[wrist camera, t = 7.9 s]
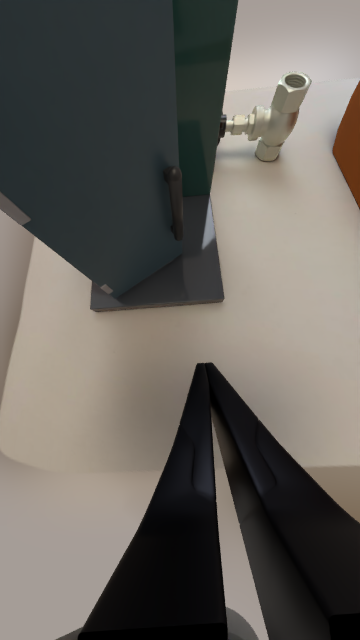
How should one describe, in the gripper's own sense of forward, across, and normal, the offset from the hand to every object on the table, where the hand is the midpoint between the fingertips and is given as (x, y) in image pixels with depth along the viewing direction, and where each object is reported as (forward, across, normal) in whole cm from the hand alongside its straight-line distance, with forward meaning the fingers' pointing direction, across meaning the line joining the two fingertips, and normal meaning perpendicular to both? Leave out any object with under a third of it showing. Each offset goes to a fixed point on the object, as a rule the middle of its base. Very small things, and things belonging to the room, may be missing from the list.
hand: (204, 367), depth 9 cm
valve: (+29, -10, -15) cm, 34 cm away
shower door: (+13, +4, -2) cm, 14 cm away
